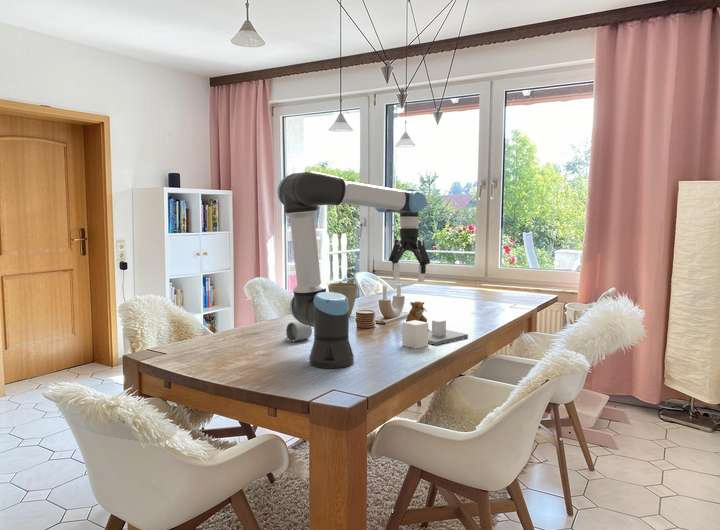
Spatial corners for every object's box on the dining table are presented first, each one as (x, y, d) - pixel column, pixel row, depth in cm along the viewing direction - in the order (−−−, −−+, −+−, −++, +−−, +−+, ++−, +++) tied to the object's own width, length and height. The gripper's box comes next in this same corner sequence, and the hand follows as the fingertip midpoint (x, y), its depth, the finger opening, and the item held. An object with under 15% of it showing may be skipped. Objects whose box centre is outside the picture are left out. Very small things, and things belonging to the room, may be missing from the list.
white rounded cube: (415, 348, 196) (415, 325, 195) (402, 345, 201) (402, 322, 201) (428, 345, 201) (428, 322, 200) (414, 342, 206) (415, 320, 205)
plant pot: (331, 312, 270) (331, 282, 269) (359, 313, 268) (359, 282, 267) (325, 318, 256) (325, 286, 254) (355, 319, 254) (355, 286, 252)
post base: (435, 345, 201) (435, 326, 200) (409, 339, 212) (409, 320, 211) (467, 337, 214) (468, 319, 213) (441, 332, 225) (441, 315, 224)
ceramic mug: (313, 339, 211) (313, 321, 210) (297, 343, 205) (296, 323, 204) (297, 336, 218) (297, 318, 218) (281, 339, 213) (280, 320, 212)
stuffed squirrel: (408, 334, 220) (409, 303, 219) (399, 327, 234) (399, 298, 233) (431, 333, 222) (431, 303, 221) (420, 326, 236) (421, 298, 235)
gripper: (439, 228, 202) (438, 282, 204) (393, 227, 221) (392, 277, 223) (427, 228, 197) (426, 283, 199) (380, 227, 216) (380, 278, 218)
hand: (408, 280), depth 211 cm, fingers open, 13 cm apart
